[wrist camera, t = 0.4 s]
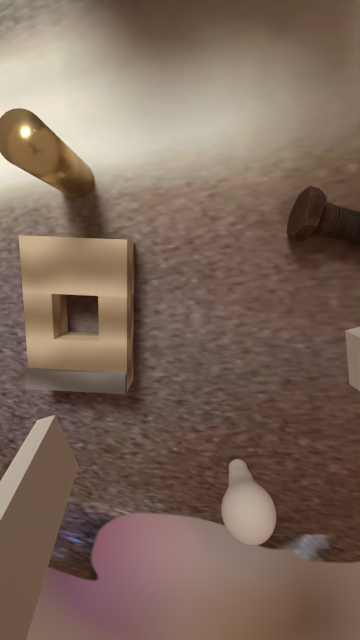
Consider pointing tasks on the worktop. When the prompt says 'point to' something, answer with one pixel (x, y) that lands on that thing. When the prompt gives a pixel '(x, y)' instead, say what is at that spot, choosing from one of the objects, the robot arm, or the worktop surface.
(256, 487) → the lightbulb
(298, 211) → the bolt
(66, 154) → the brass cylinder
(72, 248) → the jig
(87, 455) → the worktop surface
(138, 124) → the worktop surface
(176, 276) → the worktop surface
